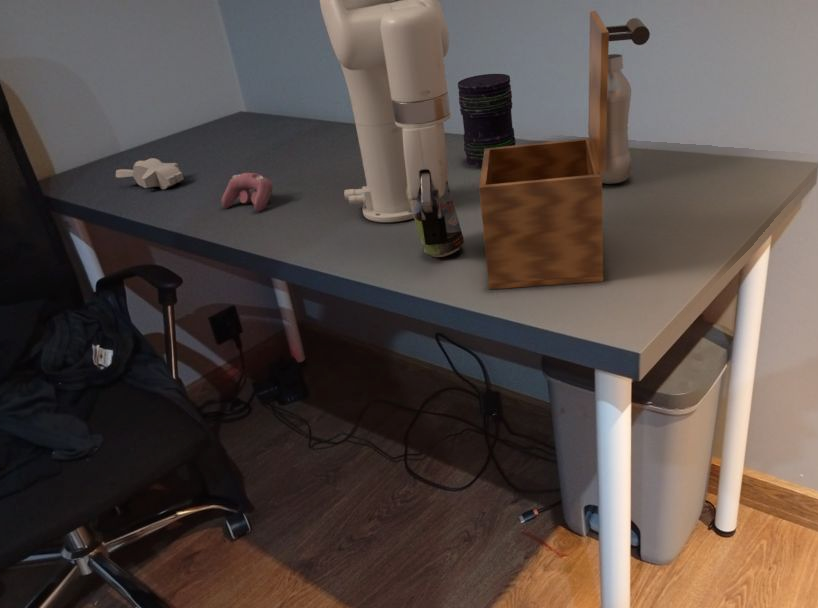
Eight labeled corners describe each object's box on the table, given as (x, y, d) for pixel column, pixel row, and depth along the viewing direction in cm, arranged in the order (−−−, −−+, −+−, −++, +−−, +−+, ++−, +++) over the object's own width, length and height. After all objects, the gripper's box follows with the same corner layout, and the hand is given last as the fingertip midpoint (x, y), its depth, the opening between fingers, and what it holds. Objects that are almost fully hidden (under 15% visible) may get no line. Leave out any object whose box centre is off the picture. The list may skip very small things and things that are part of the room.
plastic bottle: (603, 191, 120) (601, 63, 110) (585, 179, 126) (581, 57, 116) (639, 182, 121) (640, 55, 111) (619, 171, 127) (619, 50, 117)
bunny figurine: (156, 176, 149) (106, 164, 156) (162, 199, 152) (113, 187, 159) (190, 160, 156) (141, 150, 162) (195, 183, 159) (147, 172, 165)
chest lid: (601, 32, 78) (657, 27, 78) (589, 11, 91) (637, 6, 91) (598, 172, 86) (649, 169, 86) (588, 134, 100) (632, 131, 99)
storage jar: (472, 152, 147) (464, 75, 140) (520, 150, 145) (515, 71, 137) (460, 169, 140) (451, 88, 132) (511, 167, 137) (504, 84, 129)
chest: (489, 289, 96) (479, 187, 89) (493, 241, 109) (484, 148, 102) (603, 281, 94) (601, 176, 87) (593, 232, 107) (591, 137, 100)
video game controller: (274, 213, 137) (277, 175, 136) (257, 211, 133) (260, 172, 132) (236, 209, 142) (239, 172, 141) (218, 207, 138) (221, 169, 137)
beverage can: (460, 261, 105) (450, 180, 99) (411, 262, 107) (398, 183, 100) (468, 242, 110) (459, 164, 104) (421, 244, 112) (409, 167, 106)
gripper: (402, 96, 106) (420, 214, 115) (384, 130, 91) (406, 262, 101) (454, 90, 104) (467, 210, 114) (443, 124, 90) (460, 257, 99)
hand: (438, 233), depth 107 cm, fingers closed on beverage can, 5 cm apart
